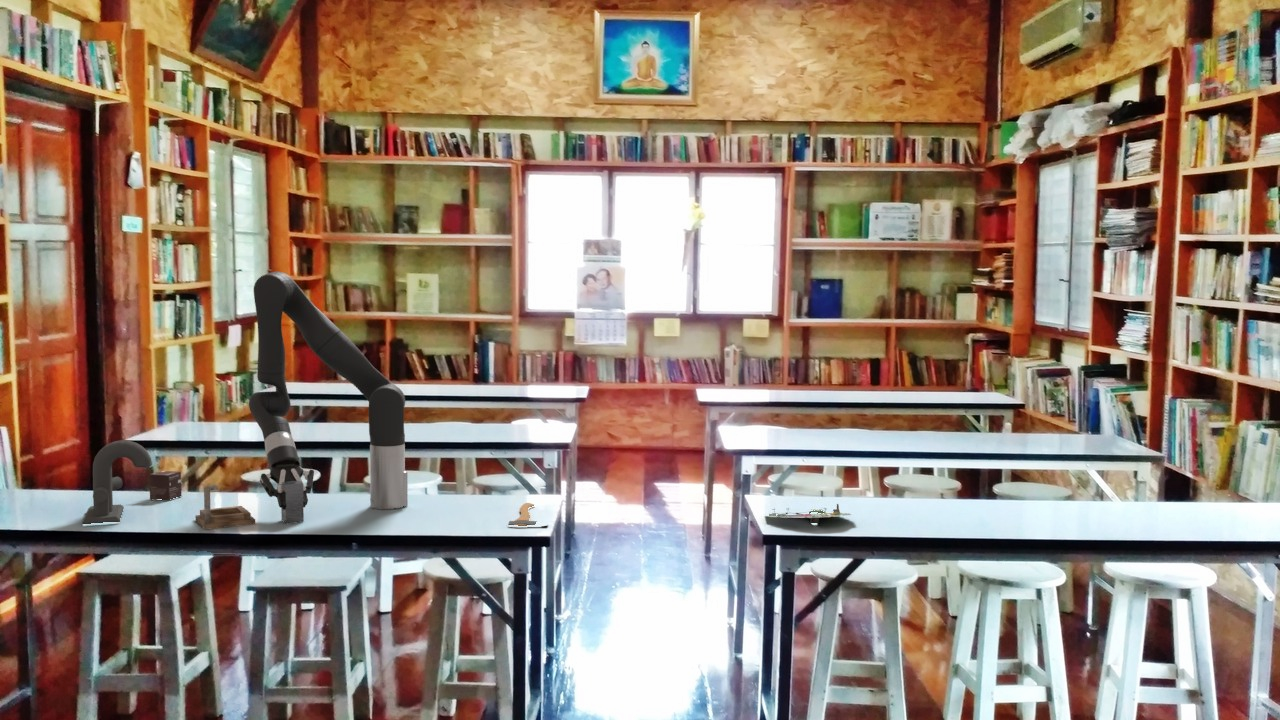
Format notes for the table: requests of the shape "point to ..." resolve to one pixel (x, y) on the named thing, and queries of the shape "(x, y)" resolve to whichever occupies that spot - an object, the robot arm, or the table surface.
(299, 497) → the grey upright tablet
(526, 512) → the tan hook stand
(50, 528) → the table surface
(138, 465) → the faucet
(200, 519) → the keeper
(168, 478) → the box
